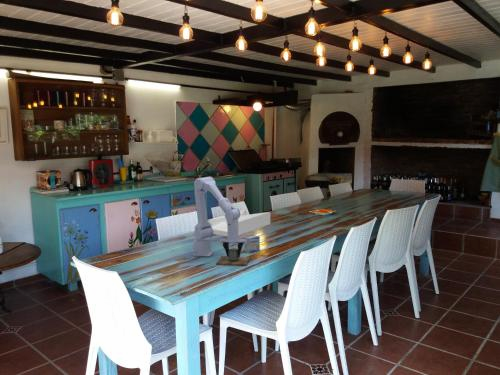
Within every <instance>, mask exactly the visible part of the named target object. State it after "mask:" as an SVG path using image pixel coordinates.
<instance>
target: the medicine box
mask: <svg viewBox="0 0 500 375" xmlns="http://www.w3.org/2000/svg"><path fill="white" fill-rule="evenodd" d="M243 239H247V244H244V252H245V253H248V254H253V253H257V252H260V250H261V249H260V247H261V245H260V244H261V243H260V241H261V240H260V239H261V238H260V236H259V235H257V234H256V235H255V234H254V235H250V236H245V237H244V238H243Z"/></svg>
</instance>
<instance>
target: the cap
mask: <svg viewBox="0 0 500 375" xmlns="http://www.w3.org/2000/svg"><path fill="white" fill-rule="evenodd" d="M228 259H229V260H231V261H235V260H238V259H239V257H238V247H237V248H233V247H232V248H229V249H228Z"/></svg>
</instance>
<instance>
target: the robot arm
mask: <svg viewBox="0 0 500 375" xmlns="http://www.w3.org/2000/svg"><path fill="white" fill-rule="evenodd" d="M193 186H194V200H195V209H196V216H197V217H196V218H197V223H196V225H195V226H194V231H193V234H194V240H193V242H192V243H193V244H192V248H193V249H192V250H193V257H210V256H211V255H212V254H213V253H214V251H212V248H211V239H212V237H213V235H214V234H213V229H212V227H211V224H210V223H209V222H208V220H209V219H208V211H207V202H206V193H207V192H210V193H211V194H212V196H213V197H214V198H215V199H216V200H217V202H218V203H217V204H218V206H219V208H220V209H221V210H222V211H223V213H224V215H225V218H226V221H227V230H228V236H227V238H219V244H222V247H223V248H224V250H225V254H226V256H227V257H228V249H230V244H237V249H238V257H241V252H242V249H243V246H244V245H245V244H247V239H244V238H239V235H238V218H239V217H240V211H241V210H240V209H239V208H237V207H235V206H234V205H233V204H232V203H231V201H230V200H229V198H227V197H224V196H223V194H222V192H221V190H219V188H218V187H217V185H216V181H215V179H214V178H213V177H212V176H206V177H205V176H204V177H197V178H196V179H194V181H193Z"/></svg>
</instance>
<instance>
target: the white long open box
mask: <svg viewBox="0 0 500 375" xmlns="http://www.w3.org/2000/svg"><path fill="white" fill-rule="evenodd" d="M239 211H240V217H239V218H238V236H241V235H244V234H246V233H249V232H251V231H255V230H258V229H260V228H264V227H266V226H269V225H271V212H270V211H268V212H260V213H252V214H247V209H246V208H245V209H240V210H239ZM208 222H209V223H210V224H211V227H212V229H213V235H218V236H223V237H224V236H225V237H228V230H227V221H226V218H225V214H224V215H220V216H217V217H214V218H210V219H208Z"/></svg>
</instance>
